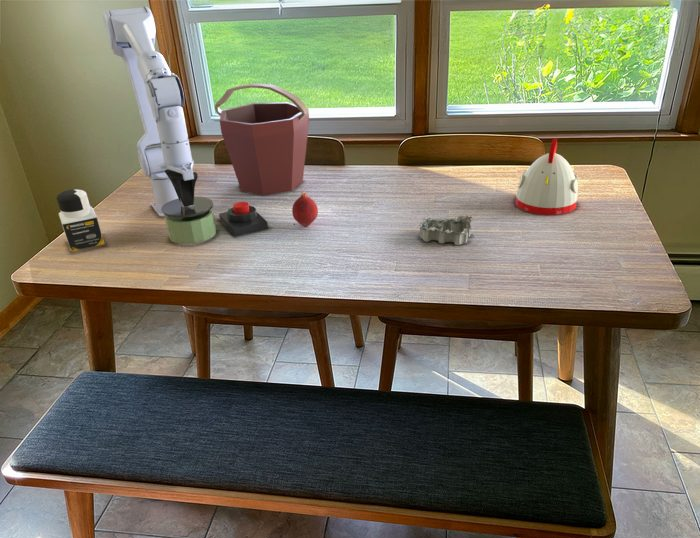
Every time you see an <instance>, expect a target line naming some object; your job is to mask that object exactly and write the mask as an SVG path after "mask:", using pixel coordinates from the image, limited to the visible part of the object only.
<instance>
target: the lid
mask: <svg viewBox="0 0 700 538" xmlns="http://www.w3.org/2000/svg"><path fill="white" fill-rule="evenodd" d="M180 200H181V199H180ZM180 200H179V199H175V200H172V201H169V202H167V203H166V204H164V205H163V206H162V208H161V210H162V213H163V214H164V215H163V216H165V215H166V216H169V217H177V218H182V217H192V216H196V215H200V214H203V213H205V212H207V211H209V210H211V209H213V207H214V201H213V200H212V199H211V198H208V197H206V196H205V197H204V196H194V205H191V206H187V207H184V205H183V204H182V201H181V202H180Z"/></svg>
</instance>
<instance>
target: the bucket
mask: <svg viewBox="0 0 700 538" xmlns="http://www.w3.org/2000/svg"><path fill="white" fill-rule="evenodd" d="M244 89H263V90H269V91H272V92H273V93H276V94H278V95H280V96H282V97H284V98H286V99H287V100H289V101H290V102H289V101H288V102H286V101H284V102H283V101H282V102H280V101H279V102H251V103H246V104H243V105H239V106H235V107H231V108H227V109H221V108H220V107H221V106H222V105H223V104H225V103H226V102H227V101H228V100H229V99H230V97H231V96H232V94H233V93H234V92H235V91H240V90H244ZM214 110H215V113H216V114H217V115H218V116H219V125H220V131H221V135H222V136H221V137H222V139H223V141H224V144H225V147H226V150H227V153H228V156H229V159H230V162H231V165H232V168H233V171H234V174H235V177H236V180H237V182H238V185H239V188H240V191H241V192H243V193H249V194H255V195H259V196H271V195H275V194H282V193H287V192H293V190H295V189H296V188H297V187H298V186H299V185H301V184H302V183H303V181H304V175H305V174H304V173H305V164H306V154H307V146H308V138H309V137H308V136H309V126H310V113H309V112H310V111H309V108H308V107H307V105H306V104H305V103H304V102H303V100H301V98H300V97H298V96H296V95H295V94H294V93H292V92H291V91H288V90H286V89H285V88H283V87H280V86H279V85H275V84H269V83H258V82H257V83H246V84H240V85H237V86H233V87H231V88H229V89H226V91H225V92H224V93H223V95H222V96H221V97H220V99H219V100H218V101H216V102H215V104H214Z"/></svg>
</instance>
